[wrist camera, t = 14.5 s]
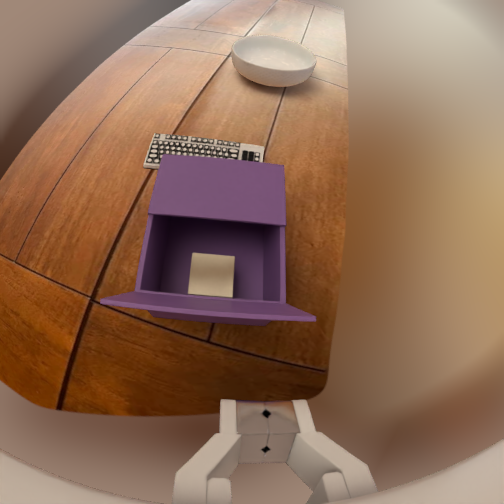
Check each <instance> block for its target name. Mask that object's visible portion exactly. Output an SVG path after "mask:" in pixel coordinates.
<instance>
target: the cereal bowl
mask: <svg viewBox="0 0 504 504" xmlns="http://www.w3.org/2000/svg"><path fill="white" fill-rule="evenodd" d="M232 62H233V64H234V66H235V68H236V70H237V71H238V72H239V73H240V74H241V75H242V76H244V77H246V78H247V79H249V80H251V81H254V82H256V83H259V84H263V85H266V86H274V87H287V86H293V85H297V84H300V83H302V82H303V81H305V80H306V79H308V78H309V77H310V75H311V74H312V73H313V70H314V68H315V65H316V56H315V55H314V53H313V52H312V51H311V50H309V49H308V48H307V47H305V46H303V45H302V44H300V43H297V42H295V41H293V40H290V39H286V38H283V37H278V36H272V35H252V36H247V37H243V38H240V39H238V40H237V41H235V42H234V44H233V45H232Z"/></svg>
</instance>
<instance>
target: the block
mask: <svg viewBox="0 0 504 504" xmlns="http://www.w3.org/2000/svg"><path fill="white" fill-rule="evenodd" d="M234 266H235V256H225V255H213V254H202V253H192V260H191V269H190V277H189V287H188V295H196V296H208V297H221V298H233V283H234Z"/></svg>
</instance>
